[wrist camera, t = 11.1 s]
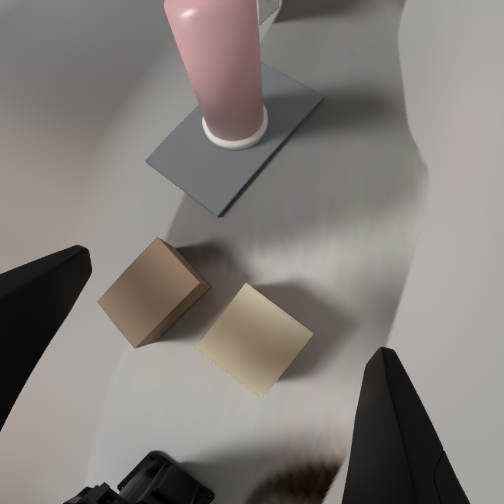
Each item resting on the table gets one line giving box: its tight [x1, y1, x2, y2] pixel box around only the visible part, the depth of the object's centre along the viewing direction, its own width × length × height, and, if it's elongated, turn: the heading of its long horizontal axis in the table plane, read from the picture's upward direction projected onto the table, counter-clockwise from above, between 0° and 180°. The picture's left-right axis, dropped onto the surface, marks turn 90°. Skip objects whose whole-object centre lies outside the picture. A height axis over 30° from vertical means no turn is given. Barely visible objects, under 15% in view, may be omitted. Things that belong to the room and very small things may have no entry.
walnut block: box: [98, 237, 211, 348], centre depth 20 cm, size 6×4×4 cm, turn 135°
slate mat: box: [146, 63, 323, 217], centre depth 24 cm, size 14×8×1 cm, turn 142°
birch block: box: [195, 283, 314, 399], centre depth 19 cm, size 5×5×4 cm
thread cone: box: [164, 0, 268, 151], centre depth 17 cm, size 5×5×13 cm
